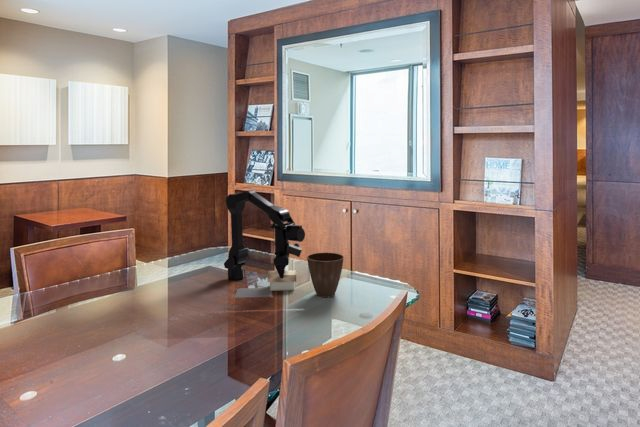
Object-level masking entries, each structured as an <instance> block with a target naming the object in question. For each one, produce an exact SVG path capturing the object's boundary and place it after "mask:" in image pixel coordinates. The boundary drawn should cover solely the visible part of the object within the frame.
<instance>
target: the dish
mask: <svg viewBox="0 0 640 427" xmlns="http://www.w3.org/2000/svg"><path fill="white" fill-rule="evenodd" d="M269 286H270V287H269V288H270V292H272V291H273V292H275V291H278V292H279V291H295V282H269Z"/></svg>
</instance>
